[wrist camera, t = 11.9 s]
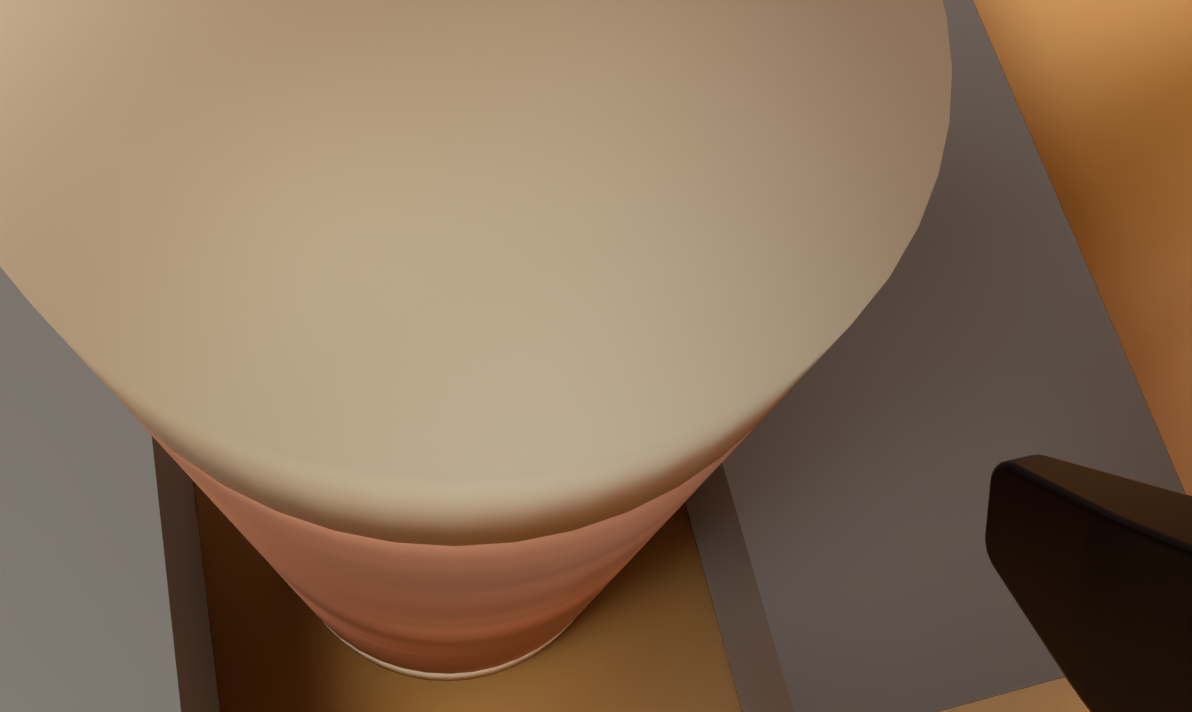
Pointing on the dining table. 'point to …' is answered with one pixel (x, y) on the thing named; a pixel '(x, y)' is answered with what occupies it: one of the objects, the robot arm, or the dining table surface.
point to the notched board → (719, 505)
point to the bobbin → (459, 266)
